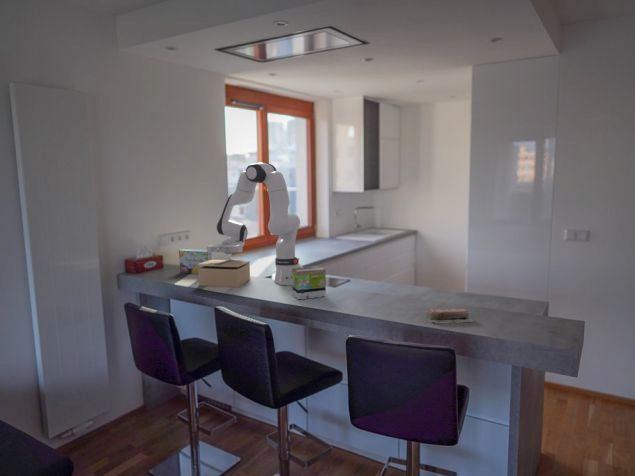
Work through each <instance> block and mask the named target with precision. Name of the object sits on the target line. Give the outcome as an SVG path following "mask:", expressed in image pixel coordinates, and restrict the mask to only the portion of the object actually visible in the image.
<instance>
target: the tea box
mask: <svg viewBox="0 0 635 476" xmlns="http://www.w3.org/2000/svg"><path fill="white" fill-rule="evenodd" d="M326 272H327V271H326V268H323V267H321V266H319V265H313V266H305V267H304V266H303V267H301V268H292V285H291V287H292V294H291V295H292V296H293V297H294V298H295V297H296V298H295V299H297V300H298V299H301V300H306V299H307V298H308V299H315V298H314V297H318V298H322V297H321V296H325V297H326V295H327V294H326V293H327V291H326V290H327V289H326V287H327V286H326V285H327V283H326V274H327V273H326ZM308 299H307V300H308Z"/></svg>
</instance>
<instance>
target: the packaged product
mask: <svg viewBox="0 0 635 476" xmlns="http://www.w3.org/2000/svg"><path fill="white" fill-rule="evenodd" d="M469 315H470V313H469V311H468V310H467V309H464V308H429V309H428V310H427V311H426V314H425V317H426V319H427V318H428V319H429V320H428V319H427V320H428V322H429V321H430V322H474V320H473V319H472V318H471V317H470V316H469ZM430 322H429V323H430Z"/></svg>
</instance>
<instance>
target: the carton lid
mask: <svg viewBox="0 0 635 476" xmlns="http://www.w3.org/2000/svg"><path fill="white" fill-rule="evenodd" d="M247 263H249V264H250V263H251V260H243V259H241V260H239V259H238V260H236V259H212V260H209V261H206V262H203V263H200V264H198V266H218V267H239V266H242V265H245V264H247Z"/></svg>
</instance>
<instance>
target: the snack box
mask: <svg viewBox="0 0 635 476" xmlns="http://www.w3.org/2000/svg"><path fill="white" fill-rule="evenodd" d="M178 259H179V270H180V274H192V273H194V275H198V268H200V267H202V266H198V264H200V263H203V262H206V261H209V260H213V252H207V249H192V248H186V249H185V248H182V249H179V250H178Z"/></svg>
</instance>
